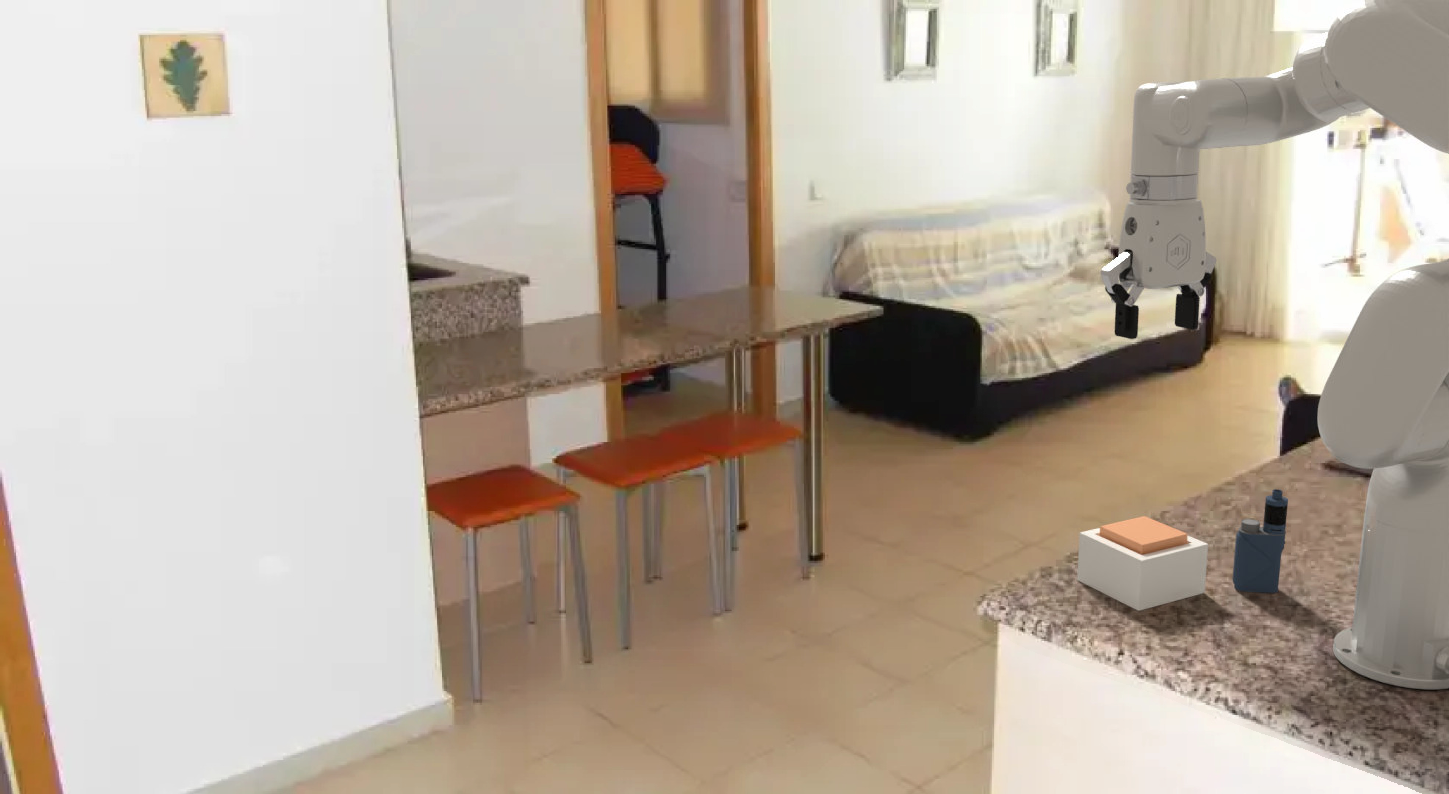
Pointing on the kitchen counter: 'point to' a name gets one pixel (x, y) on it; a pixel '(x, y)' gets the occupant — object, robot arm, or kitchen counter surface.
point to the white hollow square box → (1142, 571)
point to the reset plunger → (1143, 535)
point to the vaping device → (1261, 548)
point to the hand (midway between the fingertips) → (1156, 332)
